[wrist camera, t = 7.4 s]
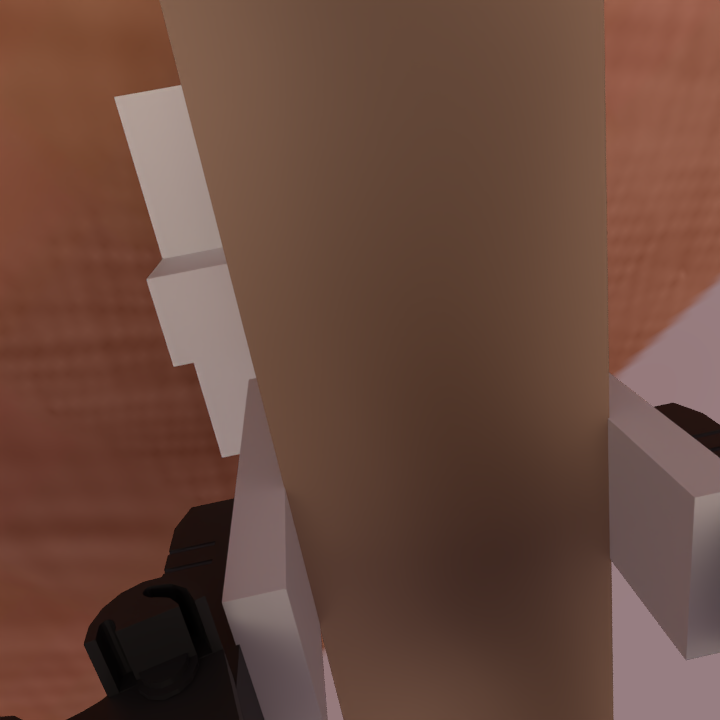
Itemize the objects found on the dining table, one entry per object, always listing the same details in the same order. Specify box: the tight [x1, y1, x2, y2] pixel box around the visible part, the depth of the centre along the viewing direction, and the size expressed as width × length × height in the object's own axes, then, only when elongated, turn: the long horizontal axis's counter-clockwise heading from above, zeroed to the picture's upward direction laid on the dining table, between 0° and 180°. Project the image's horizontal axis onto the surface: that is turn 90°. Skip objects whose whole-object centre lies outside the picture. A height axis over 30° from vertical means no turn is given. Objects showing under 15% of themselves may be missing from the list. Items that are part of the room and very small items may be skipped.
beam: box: [160, 0, 613, 720], centre depth 12 cm, size 5×22×5 cm, turn 10°
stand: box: [114, 85, 256, 458], centre depth 24 cm, size 14×16×8 cm
